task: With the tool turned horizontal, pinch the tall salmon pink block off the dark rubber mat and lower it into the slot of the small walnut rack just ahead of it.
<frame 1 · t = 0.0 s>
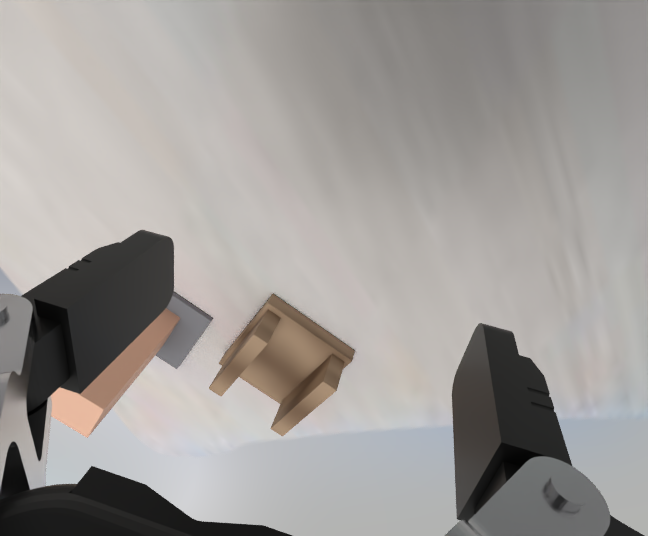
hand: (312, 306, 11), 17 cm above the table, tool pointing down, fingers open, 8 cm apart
rubber mat: (156, 318, 38), on the table
slotted rack: (286, 352, 37), on the table
tall salmon pink block: (154, 321, 38), resting on rubber mat
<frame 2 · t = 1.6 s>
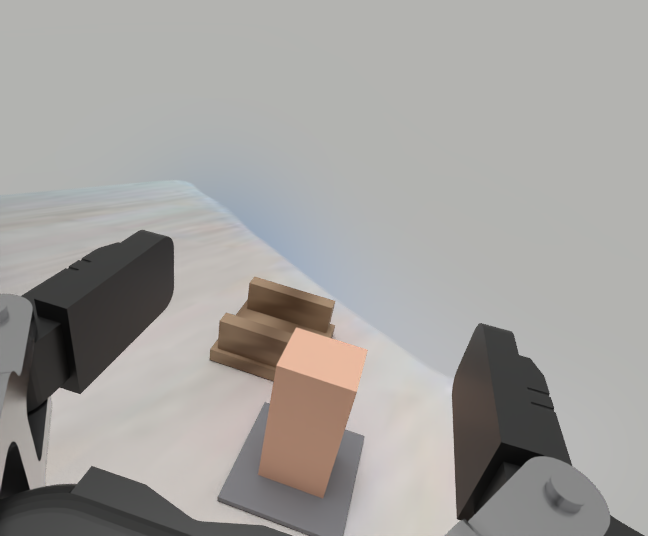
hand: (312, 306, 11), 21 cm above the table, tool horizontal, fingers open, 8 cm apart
rubber mat: (297, 467, 30), on the table
slotted rack: (275, 346, 40), on the table
tall salmon pink block: (298, 463, 30), resting on rubber mat
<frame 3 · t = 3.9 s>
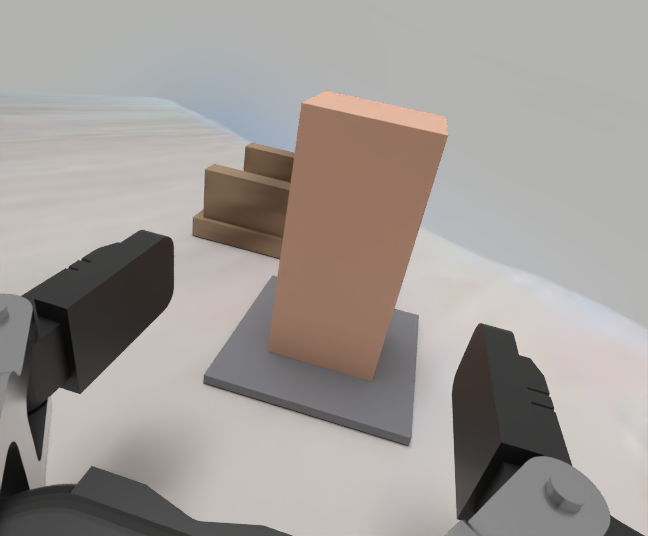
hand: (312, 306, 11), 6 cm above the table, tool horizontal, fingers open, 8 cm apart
rubber mat: (326, 347, 20), on the table
slotted rack: (282, 228, 29), on the table
tall salmon pink block: (327, 340, 19), resting on rubber mat
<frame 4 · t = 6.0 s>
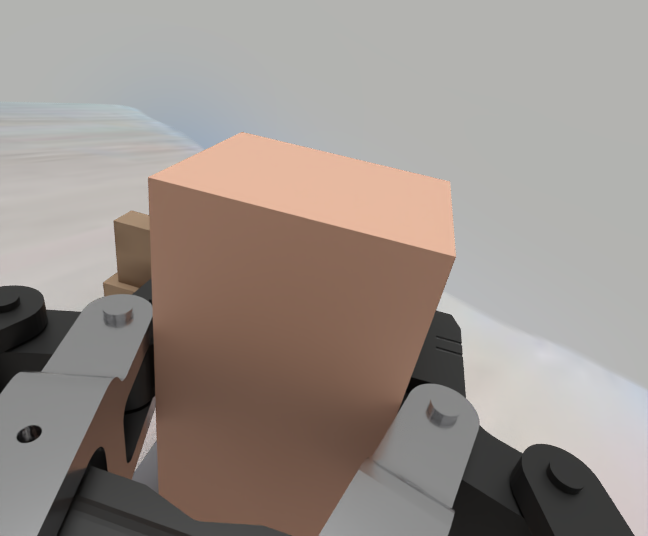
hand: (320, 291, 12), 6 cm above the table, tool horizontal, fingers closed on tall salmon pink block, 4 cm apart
rubber mat: (263, 517, 13), on the table
slotted rack: (234, 287, 23), on the table
tall salmon pink block: (264, 509, 13), resting on rubber mat, touching gripper
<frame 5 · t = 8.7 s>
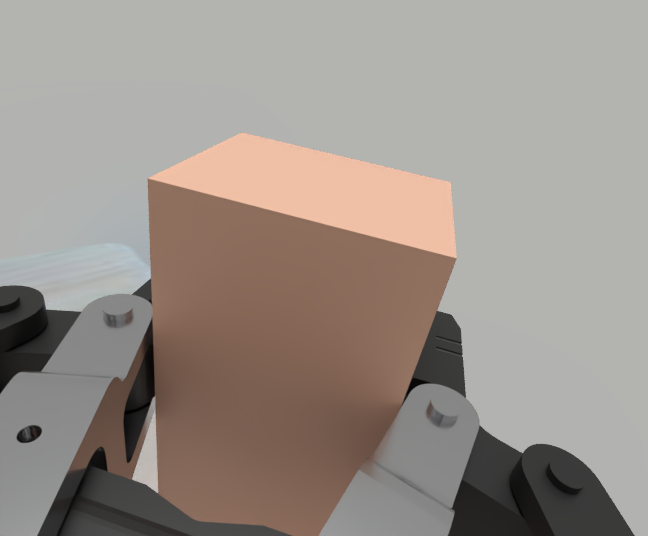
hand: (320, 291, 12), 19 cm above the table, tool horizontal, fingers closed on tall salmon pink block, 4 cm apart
tall salmon pink block: (265, 510, 13), point 13 cm above the table, touching gripper
when the fingers open (9 cm above the table, at t = 11.7 s): tall salmon pink block drops 2 cm, resting on slotted rack.
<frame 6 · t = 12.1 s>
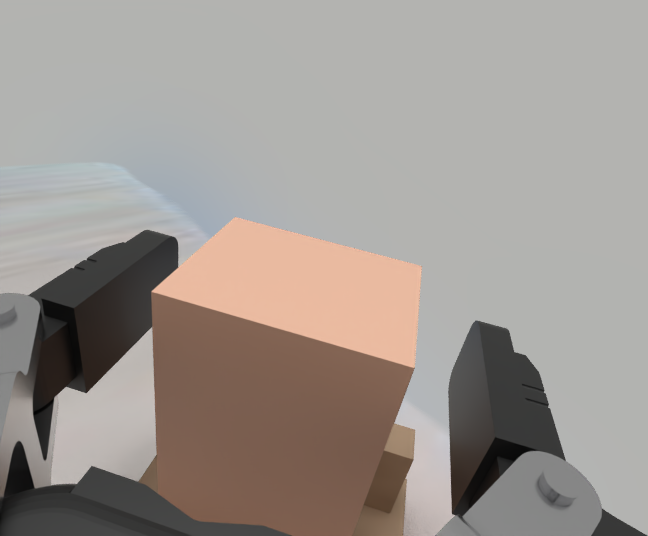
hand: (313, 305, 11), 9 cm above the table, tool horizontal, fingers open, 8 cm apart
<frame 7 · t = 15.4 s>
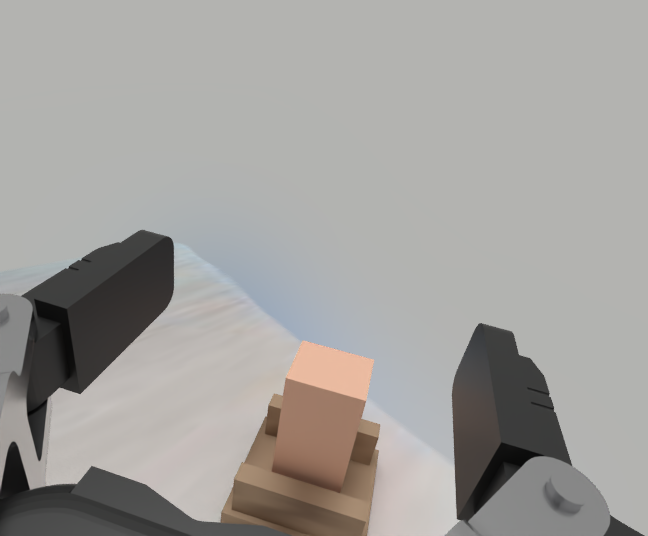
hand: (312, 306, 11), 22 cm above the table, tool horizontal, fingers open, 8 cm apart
slotted rack: (305, 489, 30), on the table
tall salmon pink block: (308, 478, 30), point 1 cm above the table, touching slotted rack
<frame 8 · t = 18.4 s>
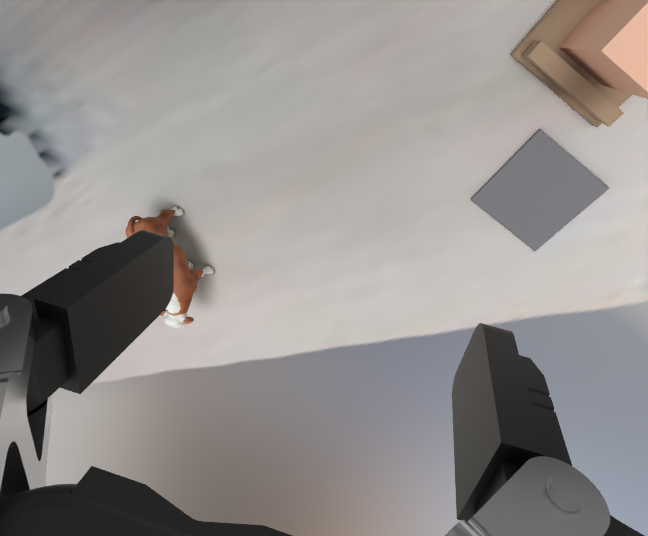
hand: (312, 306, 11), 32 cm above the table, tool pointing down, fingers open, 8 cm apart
rubber mat: (536, 192, 39), on the table
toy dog: (192, 251, 51), on the table
slotted rack: (594, 45, 33), on the table
tall salmon pink block: (600, 45, 32), point 1 cm above the table, touching slotted rack
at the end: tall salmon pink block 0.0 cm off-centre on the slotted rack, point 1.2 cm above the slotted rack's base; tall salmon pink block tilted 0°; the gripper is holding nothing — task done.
